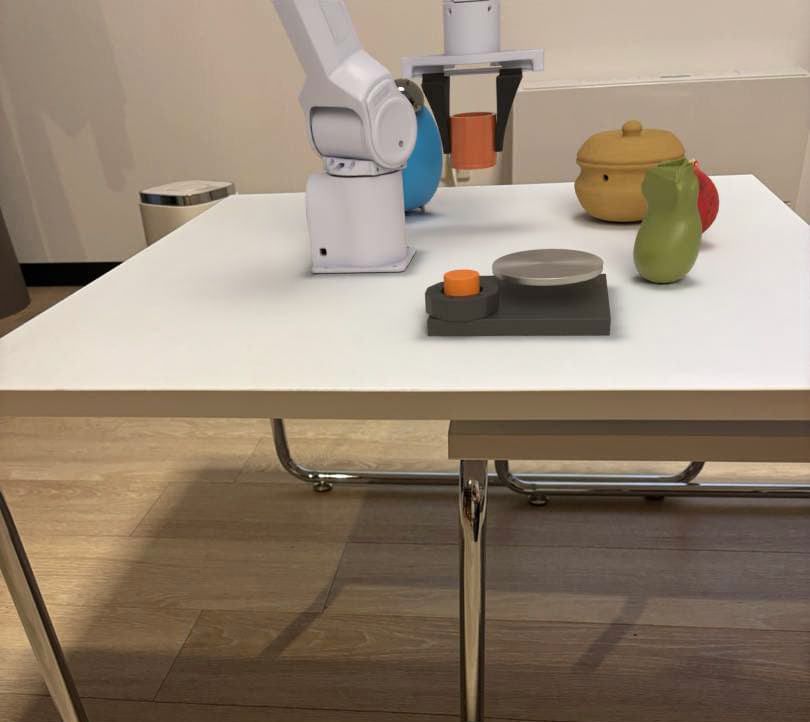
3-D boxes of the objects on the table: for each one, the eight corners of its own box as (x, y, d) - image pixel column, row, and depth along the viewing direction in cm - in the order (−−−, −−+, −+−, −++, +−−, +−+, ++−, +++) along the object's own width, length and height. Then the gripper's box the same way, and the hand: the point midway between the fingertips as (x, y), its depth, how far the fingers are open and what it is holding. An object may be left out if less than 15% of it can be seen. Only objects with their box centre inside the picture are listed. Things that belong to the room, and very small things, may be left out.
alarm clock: (446, 215, 101) (441, 75, 93) (408, 225, 98) (399, 81, 90) (381, 203, 110) (371, 74, 101) (343, 212, 107) (330, 80, 98)
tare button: (441, 299, 64) (441, 279, 63) (446, 288, 67) (445, 269, 66) (477, 299, 64) (477, 279, 63) (481, 288, 66) (480, 268, 65)
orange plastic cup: (448, 170, 88) (446, 118, 86) (453, 162, 92) (452, 113, 90) (494, 168, 87) (494, 116, 85) (498, 161, 92) (498, 110, 89)
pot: (552, 224, 94) (556, 126, 88) (604, 203, 101) (610, 112, 95) (648, 235, 87) (658, 130, 82) (696, 212, 94) (708, 114, 89)
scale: (422, 338, 65) (420, 300, 63) (443, 291, 75) (441, 257, 73) (609, 338, 62) (612, 298, 61) (604, 289, 72) (607, 254, 71)
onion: (716, 253, 79) (728, 163, 75) (654, 254, 81) (663, 166, 76) (710, 238, 84) (721, 153, 80) (651, 239, 85) (659, 155, 81)
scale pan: (487, 287, 65) (487, 279, 65) (496, 256, 72) (496, 249, 72) (604, 285, 63) (605, 277, 63) (601, 254, 71) (601, 247, 70)
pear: (707, 282, 72) (724, 158, 67) (664, 294, 70) (678, 167, 65) (659, 269, 76) (672, 151, 71) (617, 281, 74) (626, 160, 69)
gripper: (546, -4, 84) (542, 143, 91) (406, 6, 86) (413, 148, 94) (544, -4, 78) (540, 153, 85) (394, 7, 80) (403, 158, 88)
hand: (473, 151), depth 89 cm, fingers closed on orange plastic cup, 5 cm apart
